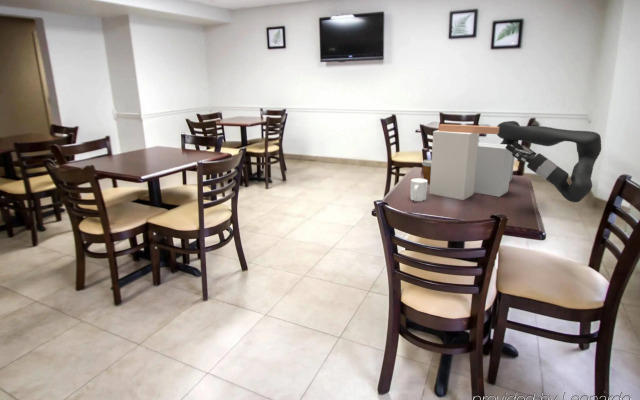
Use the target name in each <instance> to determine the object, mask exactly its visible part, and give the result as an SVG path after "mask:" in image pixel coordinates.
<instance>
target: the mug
mask: <svg viewBox="0 0 640 400" xmlns="http://www.w3.org/2000/svg"><path fill="white" fill-rule="evenodd" d="M427 182H428V181H427V180H426V179H424V178H420V177H417V178H411V180H410V187H409V188H410V190H409V192H410V193H409V195H410V197H409V198H410V200H411V201H413V200H414V201H413V202H424V201H426V200H427V190H428V183H427ZM423 200H424V201H423Z"/></svg>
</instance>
